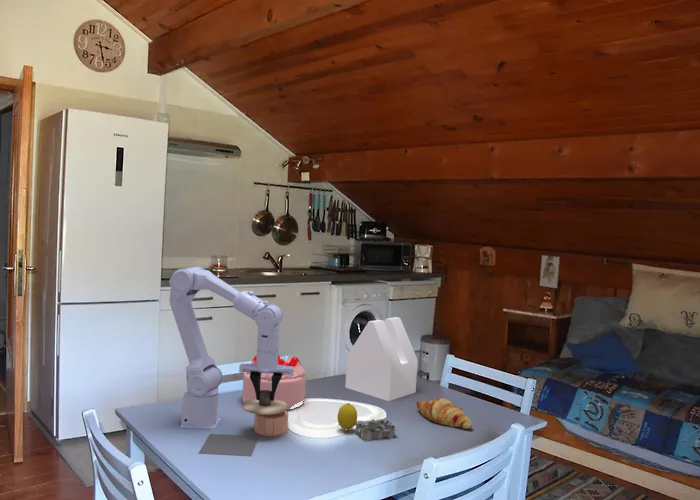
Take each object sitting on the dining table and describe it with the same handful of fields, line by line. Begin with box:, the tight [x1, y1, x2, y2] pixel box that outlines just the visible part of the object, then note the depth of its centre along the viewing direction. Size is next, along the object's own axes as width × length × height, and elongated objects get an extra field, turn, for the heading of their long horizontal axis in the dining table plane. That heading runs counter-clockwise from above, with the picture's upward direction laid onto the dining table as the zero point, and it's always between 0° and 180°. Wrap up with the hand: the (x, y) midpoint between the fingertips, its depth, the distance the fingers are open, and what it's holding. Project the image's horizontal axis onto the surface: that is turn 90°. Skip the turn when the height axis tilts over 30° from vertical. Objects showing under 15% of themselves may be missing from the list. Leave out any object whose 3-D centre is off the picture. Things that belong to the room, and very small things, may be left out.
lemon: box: [337, 402, 358, 431], centre depth 168 cm, size 6×6×8 cm
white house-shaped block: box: [344, 316, 419, 402], centre depth 209 cm, size 19×15×25 cm
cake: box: [241, 353, 307, 412], centre depth 190 cm, size 20×20×14 cm
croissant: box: [415, 396, 473, 430], centre depth 182 cm, size 21×10×8 cm, turn 44°
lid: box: [241, 390, 288, 415], centre depth 162 cm, size 12×12×4 cm
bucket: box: [253, 410, 289, 437], centre depth 165 cm, size 9×9×5 cm
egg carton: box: [355, 417, 398, 441], centre depth 167 cm, size 11×8×4 cm
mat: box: [197, 433, 259, 457], centre depth 153 cm, size 13×13×1 cm
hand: (265, 399), depth 162 cm, fingers closed on lid, 3 cm apart
